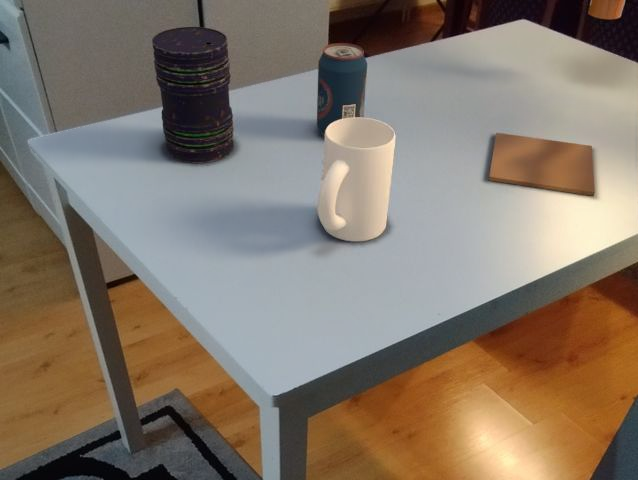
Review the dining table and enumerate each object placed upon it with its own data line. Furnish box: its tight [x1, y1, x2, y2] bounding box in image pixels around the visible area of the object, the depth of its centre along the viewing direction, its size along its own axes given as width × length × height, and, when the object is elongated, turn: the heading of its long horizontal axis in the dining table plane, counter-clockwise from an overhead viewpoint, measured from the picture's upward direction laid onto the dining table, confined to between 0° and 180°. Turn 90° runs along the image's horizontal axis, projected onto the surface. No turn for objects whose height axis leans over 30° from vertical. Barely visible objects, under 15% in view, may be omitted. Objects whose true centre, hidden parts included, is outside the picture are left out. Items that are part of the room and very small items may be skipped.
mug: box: [317, 117, 396, 242], centre depth 79 cm, size 8×12×12 cm
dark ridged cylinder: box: [151, 26, 235, 164], centre depth 93 cm, size 10×10×15 cm
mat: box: [487, 132, 596, 197], centre depth 97 cm, size 14×14×1 cm
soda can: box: [316, 42, 368, 137], centre depth 99 cm, size 7×7×12 cm
